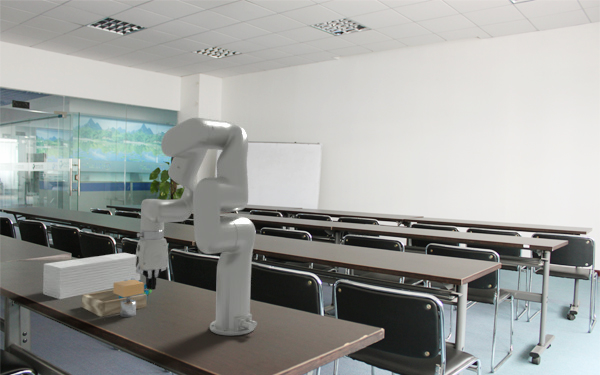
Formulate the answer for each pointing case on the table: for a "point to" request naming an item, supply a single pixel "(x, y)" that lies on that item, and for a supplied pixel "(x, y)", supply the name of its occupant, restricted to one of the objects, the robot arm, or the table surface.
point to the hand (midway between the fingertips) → (150, 288)
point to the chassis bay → (108, 302)
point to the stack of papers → (88, 274)
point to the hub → (128, 288)
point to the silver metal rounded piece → (128, 307)
